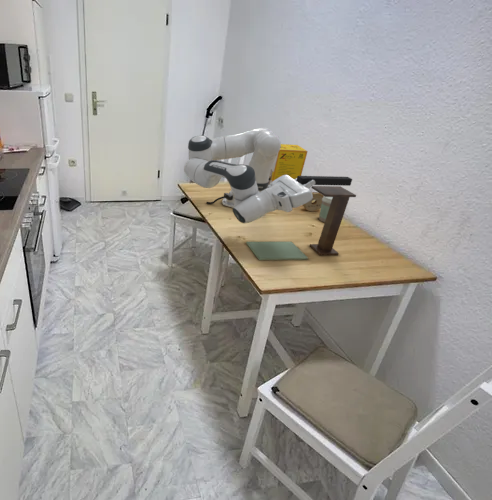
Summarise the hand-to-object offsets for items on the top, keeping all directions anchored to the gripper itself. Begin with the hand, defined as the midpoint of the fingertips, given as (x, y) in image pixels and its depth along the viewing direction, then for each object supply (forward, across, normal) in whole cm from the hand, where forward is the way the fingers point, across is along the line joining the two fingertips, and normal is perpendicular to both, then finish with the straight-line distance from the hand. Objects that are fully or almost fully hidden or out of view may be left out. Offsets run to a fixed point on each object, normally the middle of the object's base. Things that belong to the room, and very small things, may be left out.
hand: (311, 179), depth 133 cm
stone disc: (+13, -44, -43) cm, 63 cm away
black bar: (+4, 0, -4) cm, 5 cm away
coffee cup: (+14, -31, -43) cm, 55 cm away
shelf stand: (-5, 0, -32) cm, 32 cm away
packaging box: (+12, -79, -42) cm, 90 cm away
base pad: (-21, 0, -23) cm, 31 cm away
